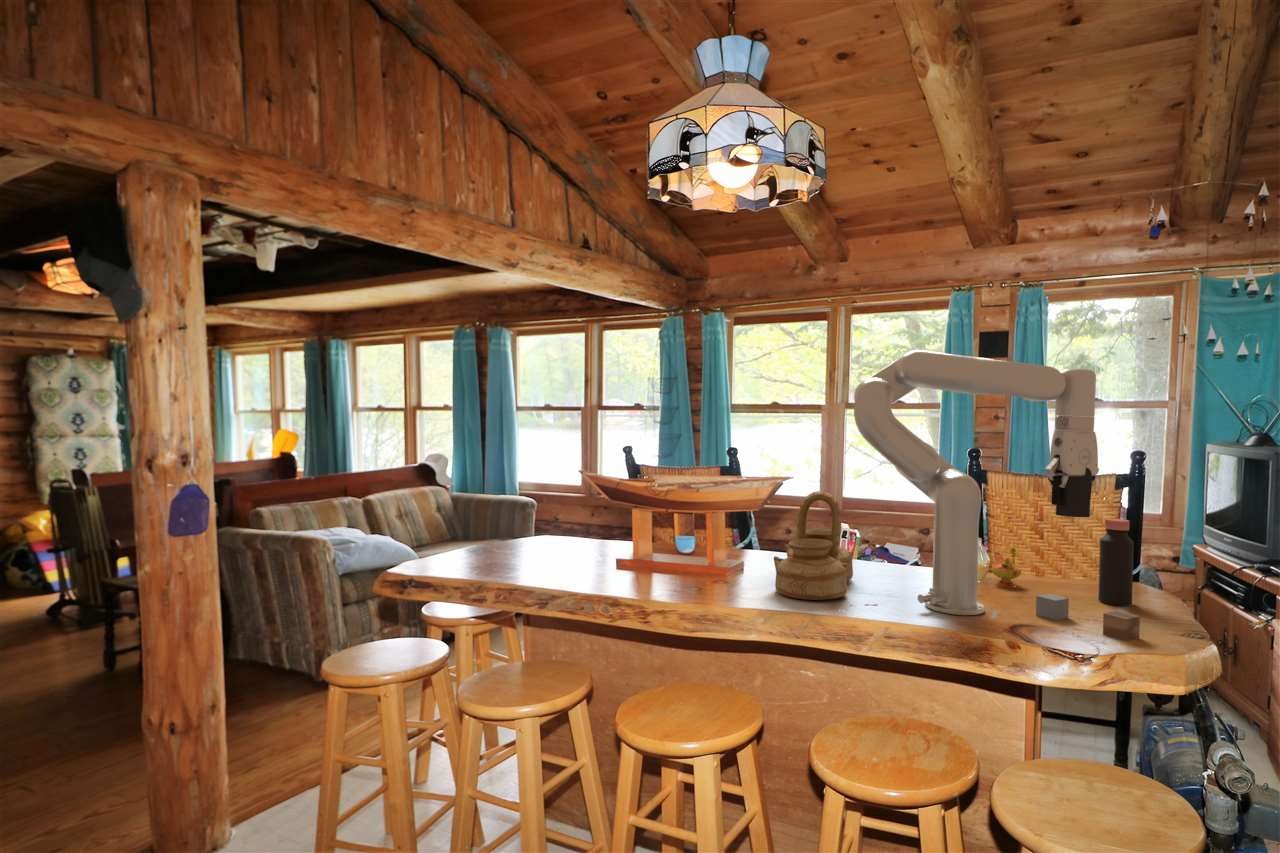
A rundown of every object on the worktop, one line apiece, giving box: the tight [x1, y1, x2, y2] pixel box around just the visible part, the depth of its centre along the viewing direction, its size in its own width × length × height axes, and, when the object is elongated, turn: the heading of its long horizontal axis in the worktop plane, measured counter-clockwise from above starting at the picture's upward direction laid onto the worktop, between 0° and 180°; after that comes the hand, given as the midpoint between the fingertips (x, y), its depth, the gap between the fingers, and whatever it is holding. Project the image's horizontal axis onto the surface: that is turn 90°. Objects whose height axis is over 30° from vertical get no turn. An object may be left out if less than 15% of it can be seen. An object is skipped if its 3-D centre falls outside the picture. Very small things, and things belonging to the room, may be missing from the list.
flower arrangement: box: [991, 547, 1021, 588], centre depth 191 cm, size 7×18×11 cm, turn 167°
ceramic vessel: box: [773, 490, 854, 601], centre depth 186 cm, size 34×18×25 cm, turn 160°
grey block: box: [1035, 593, 1070, 621], centre depth 161 cm, size 4×4×4 cm
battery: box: [1054, 468, 1093, 519], centre depth 160 cm, size 7×4×11 cm, turn 70°
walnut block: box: [1102, 610, 1141, 642], centre depth 147 cm, size 4×4×4 cm
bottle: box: [1098, 517, 1135, 607], centre depth 172 cm, size 7×7×20 cm
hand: (1070, 503), depth 160 cm, fingers closed on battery, 6 cm apart
